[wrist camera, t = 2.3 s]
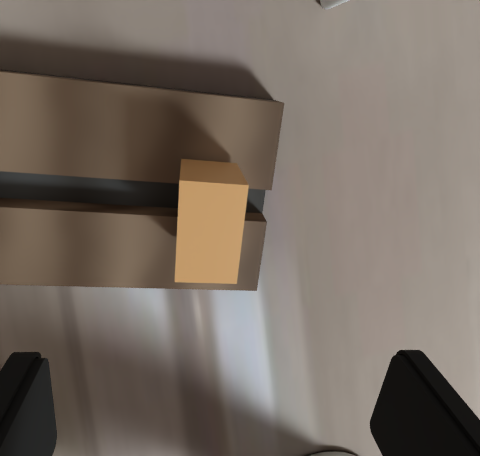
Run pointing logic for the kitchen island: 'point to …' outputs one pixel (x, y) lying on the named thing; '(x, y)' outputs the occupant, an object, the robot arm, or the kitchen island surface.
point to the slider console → (119, 178)
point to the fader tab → (210, 221)
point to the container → (331, 3)
